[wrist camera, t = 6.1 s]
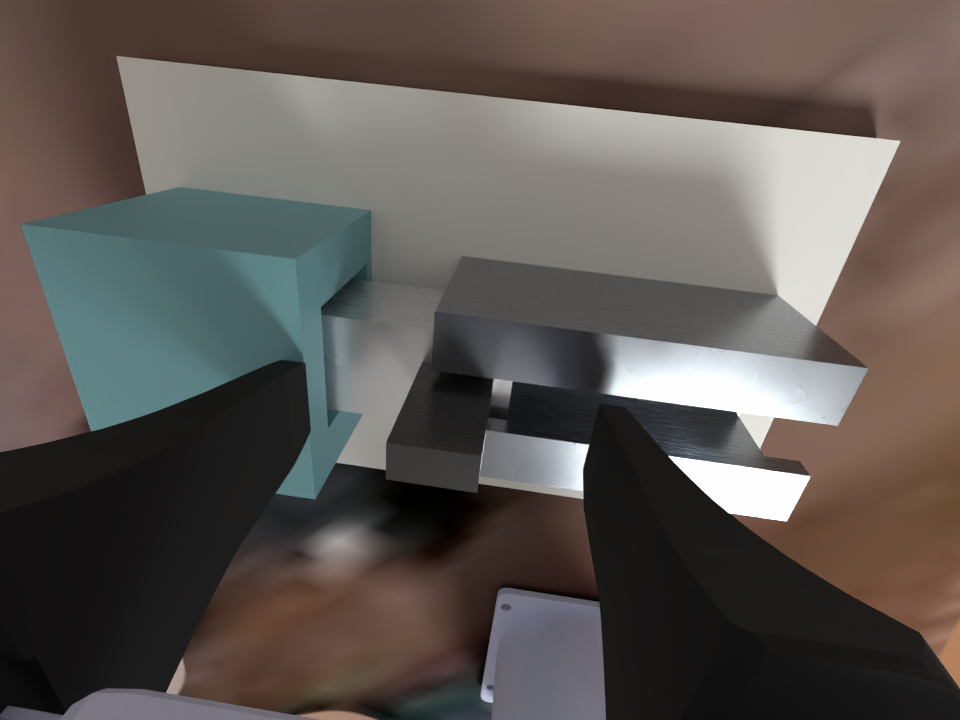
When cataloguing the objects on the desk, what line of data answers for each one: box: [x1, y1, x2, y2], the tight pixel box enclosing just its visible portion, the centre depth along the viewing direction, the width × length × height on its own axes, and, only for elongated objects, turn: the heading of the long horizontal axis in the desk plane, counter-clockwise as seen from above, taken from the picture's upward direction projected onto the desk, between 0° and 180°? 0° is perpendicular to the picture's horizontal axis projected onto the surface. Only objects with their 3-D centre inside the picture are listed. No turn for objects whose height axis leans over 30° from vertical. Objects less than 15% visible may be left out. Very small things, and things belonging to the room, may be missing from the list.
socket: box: [21, 187, 372, 499], centre depth 15 cm, size 7×6×6 cm
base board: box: [116, 56, 900, 499], centre depth 17 cm, size 14×22×1 cm, turn 85°
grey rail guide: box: [431, 256, 868, 521], centre depth 15 cm, size 5×10×5 cm, turn 85°
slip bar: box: [321, 278, 513, 493], centre depth 13 cm, size 3×10×7 cm, turn 85°
